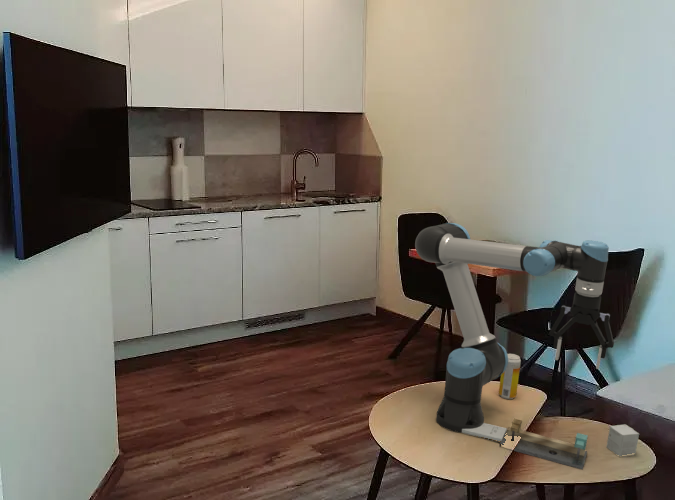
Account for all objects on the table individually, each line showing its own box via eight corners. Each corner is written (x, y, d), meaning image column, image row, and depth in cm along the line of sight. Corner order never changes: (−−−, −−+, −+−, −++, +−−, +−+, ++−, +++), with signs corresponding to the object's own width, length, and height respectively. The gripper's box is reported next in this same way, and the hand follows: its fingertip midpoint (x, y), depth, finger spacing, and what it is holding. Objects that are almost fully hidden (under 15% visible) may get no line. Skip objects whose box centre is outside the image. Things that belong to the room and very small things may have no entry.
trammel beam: (503, 439, 210) (505, 424, 209) (508, 432, 215) (509, 417, 214) (582, 461, 201) (585, 445, 200) (585, 452, 206) (587, 437, 205)
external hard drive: (467, 423, 222) (506, 432, 217) (461, 433, 214) (501, 443, 210) (468, 418, 221) (507, 427, 216) (461, 428, 214) (502, 438, 209)
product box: (605, 447, 212) (609, 425, 210) (621, 445, 214) (625, 423, 212) (619, 457, 206) (623, 435, 205) (635, 455, 208) (639, 433, 207)
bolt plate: (499, 446, 208) (499, 443, 208) (506, 433, 217) (507, 430, 216) (582, 469, 198) (583, 466, 198) (586, 454, 207) (587, 451, 206)
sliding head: (572, 457, 202) (574, 441, 201) (574, 448, 207) (577, 432, 206) (582, 460, 201) (585, 443, 199) (585, 451, 206) (587, 435, 205)
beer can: (516, 394, 246) (522, 355, 242) (514, 401, 240) (520, 361, 237) (499, 391, 248) (504, 352, 244) (497, 397, 242) (502, 357, 239)
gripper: (545, 289, 205) (535, 358, 210) (630, 304, 195) (617, 376, 200) (549, 283, 211) (539, 350, 216) (631, 297, 202) (619, 367, 207)
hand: (577, 362), depth 208 cm, fingers open, 11 cm apart
